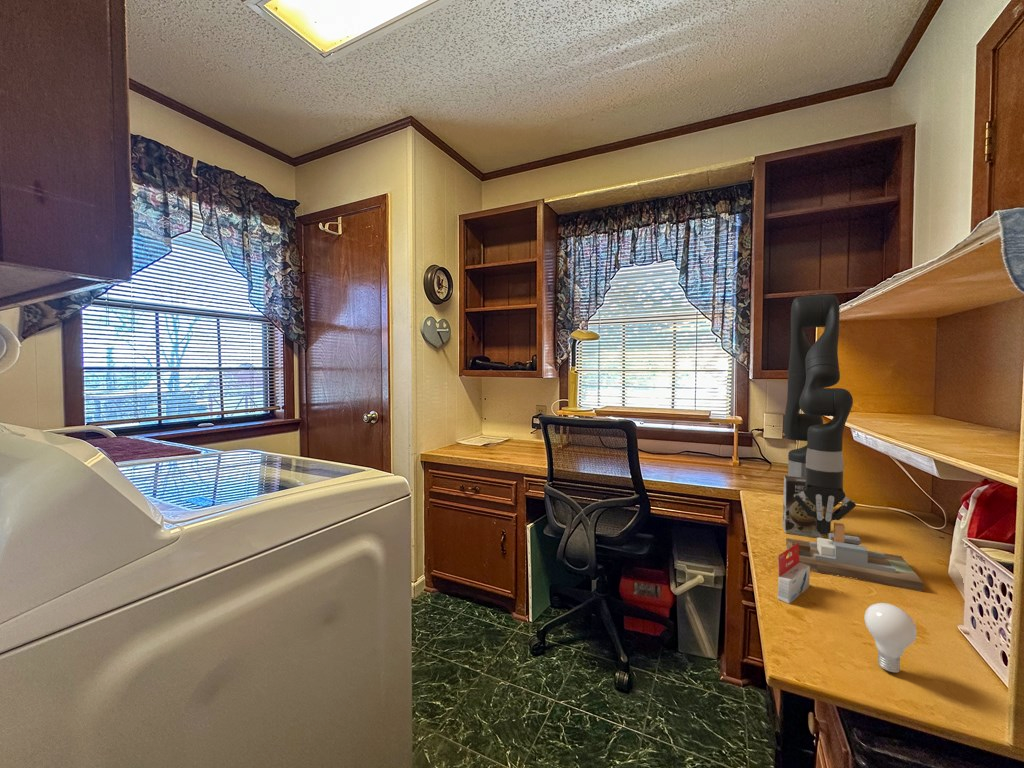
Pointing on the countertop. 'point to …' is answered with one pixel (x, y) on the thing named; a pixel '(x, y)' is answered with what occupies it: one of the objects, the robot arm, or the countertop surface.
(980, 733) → the countertop surface
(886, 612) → the lightbulb
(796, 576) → the ink cartridge box
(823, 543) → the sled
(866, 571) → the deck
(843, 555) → the tunnel
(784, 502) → the coffee box
